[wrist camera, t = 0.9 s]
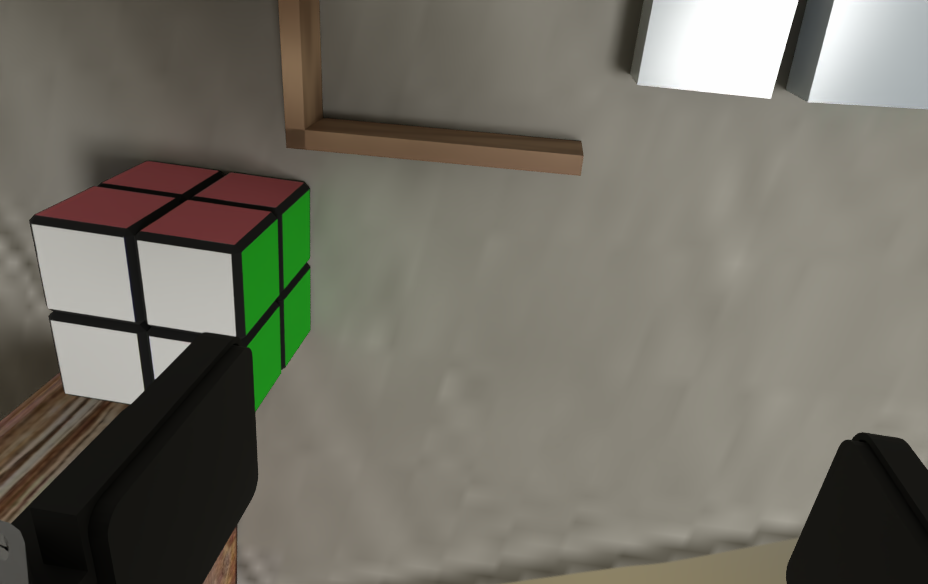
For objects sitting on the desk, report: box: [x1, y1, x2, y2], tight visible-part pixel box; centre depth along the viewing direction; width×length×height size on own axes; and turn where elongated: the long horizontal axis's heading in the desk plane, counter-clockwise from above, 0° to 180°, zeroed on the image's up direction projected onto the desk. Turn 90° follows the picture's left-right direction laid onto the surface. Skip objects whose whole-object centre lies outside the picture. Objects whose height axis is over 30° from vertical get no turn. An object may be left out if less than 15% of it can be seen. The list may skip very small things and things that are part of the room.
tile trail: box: [786, 0, 928, 109], centre depth 30 cm, size 6×6×4 cm
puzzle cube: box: [29, 161, 310, 412], centre depth 36 cm, size 10×10×10 cm
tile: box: [630, 0, 798, 99], centre depth 31 cm, size 6×6×4 cm
